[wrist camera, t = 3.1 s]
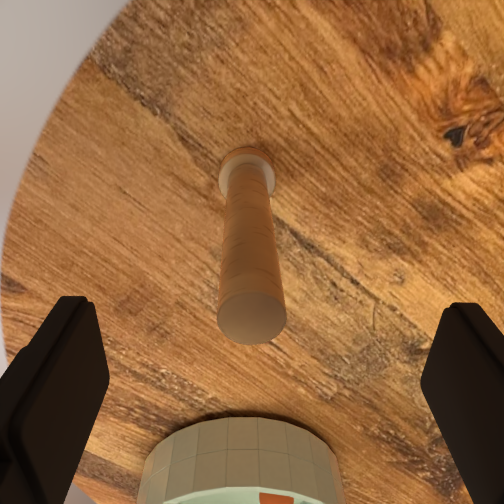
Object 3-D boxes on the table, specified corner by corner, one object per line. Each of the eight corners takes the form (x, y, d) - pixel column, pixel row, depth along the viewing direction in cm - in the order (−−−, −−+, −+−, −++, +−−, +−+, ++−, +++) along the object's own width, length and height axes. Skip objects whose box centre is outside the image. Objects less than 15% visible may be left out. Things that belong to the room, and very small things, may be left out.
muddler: (219, 199, 22) (201, 357, 12) (218, 146, 21) (196, 275, 11) (273, 200, 23) (299, 358, 12) (276, 147, 21) (309, 276, 11)
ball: (257, 489, 36) (259, 525, 34) (259, 469, 35) (260, 506, 32) (290, 488, 36) (294, 525, 34) (293, 469, 35) (297, 505, 32)
